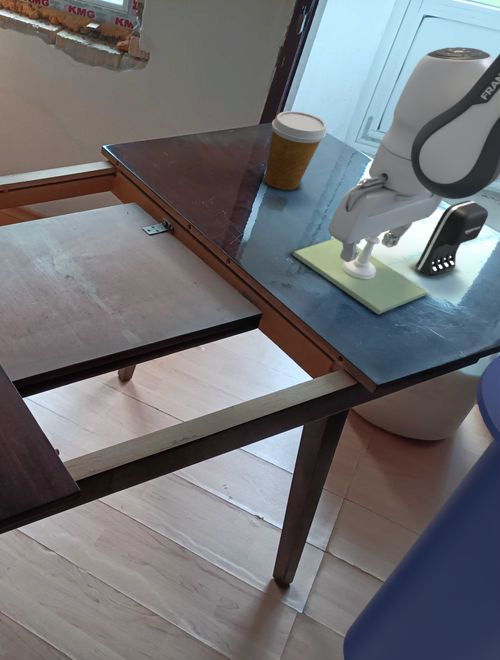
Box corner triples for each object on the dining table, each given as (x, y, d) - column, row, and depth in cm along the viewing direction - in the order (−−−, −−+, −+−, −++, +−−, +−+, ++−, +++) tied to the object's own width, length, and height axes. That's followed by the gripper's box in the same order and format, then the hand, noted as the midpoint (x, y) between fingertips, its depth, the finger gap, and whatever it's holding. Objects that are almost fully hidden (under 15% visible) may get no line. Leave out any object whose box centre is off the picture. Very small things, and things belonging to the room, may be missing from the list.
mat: (425, 295, 105) (427, 291, 104) (377, 314, 100) (380, 310, 100) (339, 240, 115) (340, 236, 115) (292, 255, 111) (294, 251, 110)
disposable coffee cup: (284, 167, 135) (304, 107, 127) (317, 190, 128) (340, 128, 120) (245, 174, 131) (263, 113, 124) (277, 197, 125) (298, 135, 117)
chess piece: (374, 282, 105) (401, 226, 98) (341, 274, 106) (366, 218, 99) (374, 266, 108) (401, 210, 102) (342, 258, 109) (366, 202, 103)
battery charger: (432, 281, 108) (467, 217, 100) (412, 268, 110) (445, 205, 102) (460, 271, 110) (497, 208, 103) (440, 258, 113) (474, 196, 105)
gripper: (374, 193, 89) (337, 279, 99) (469, 165, 98) (427, 247, 107) (337, 172, 93) (304, 257, 102) (431, 147, 102) (393, 227, 111)
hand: (368, 252), depth 105 cm, fingers open, 8 cm apart
